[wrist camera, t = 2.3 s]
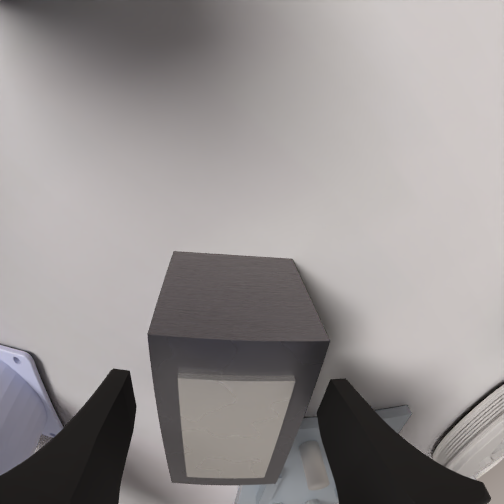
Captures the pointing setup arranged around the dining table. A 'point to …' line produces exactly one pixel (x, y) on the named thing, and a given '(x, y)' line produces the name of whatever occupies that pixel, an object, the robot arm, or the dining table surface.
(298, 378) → the block
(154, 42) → the dining table surface
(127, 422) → the robot arm
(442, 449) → the lid
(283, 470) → the gray peg board
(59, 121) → the dining table surface
